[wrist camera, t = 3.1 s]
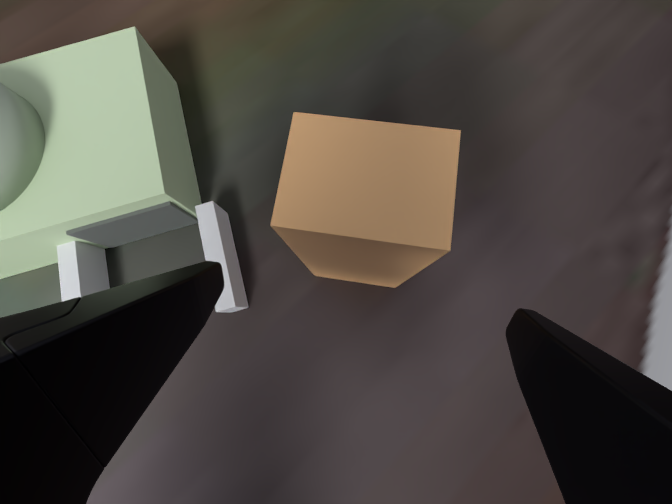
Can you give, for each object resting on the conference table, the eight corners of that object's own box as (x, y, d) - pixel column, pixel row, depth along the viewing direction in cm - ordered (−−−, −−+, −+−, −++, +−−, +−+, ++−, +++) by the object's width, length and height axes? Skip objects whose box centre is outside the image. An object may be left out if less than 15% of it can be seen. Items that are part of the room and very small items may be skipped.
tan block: (394, 287, 21) (450, 250, 9) (314, 275, 21) (270, 225, 10) (401, 231, 22) (460, 130, 10) (324, 220, 22) (293, 112, 10)
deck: (248, 307, 21) (199, 303, 14) (-93, 407, 21) (-309, 451, 14) (197, 77, 25) (139, -13, 18) (-90, 158, 25) (-258, 98, 18)
